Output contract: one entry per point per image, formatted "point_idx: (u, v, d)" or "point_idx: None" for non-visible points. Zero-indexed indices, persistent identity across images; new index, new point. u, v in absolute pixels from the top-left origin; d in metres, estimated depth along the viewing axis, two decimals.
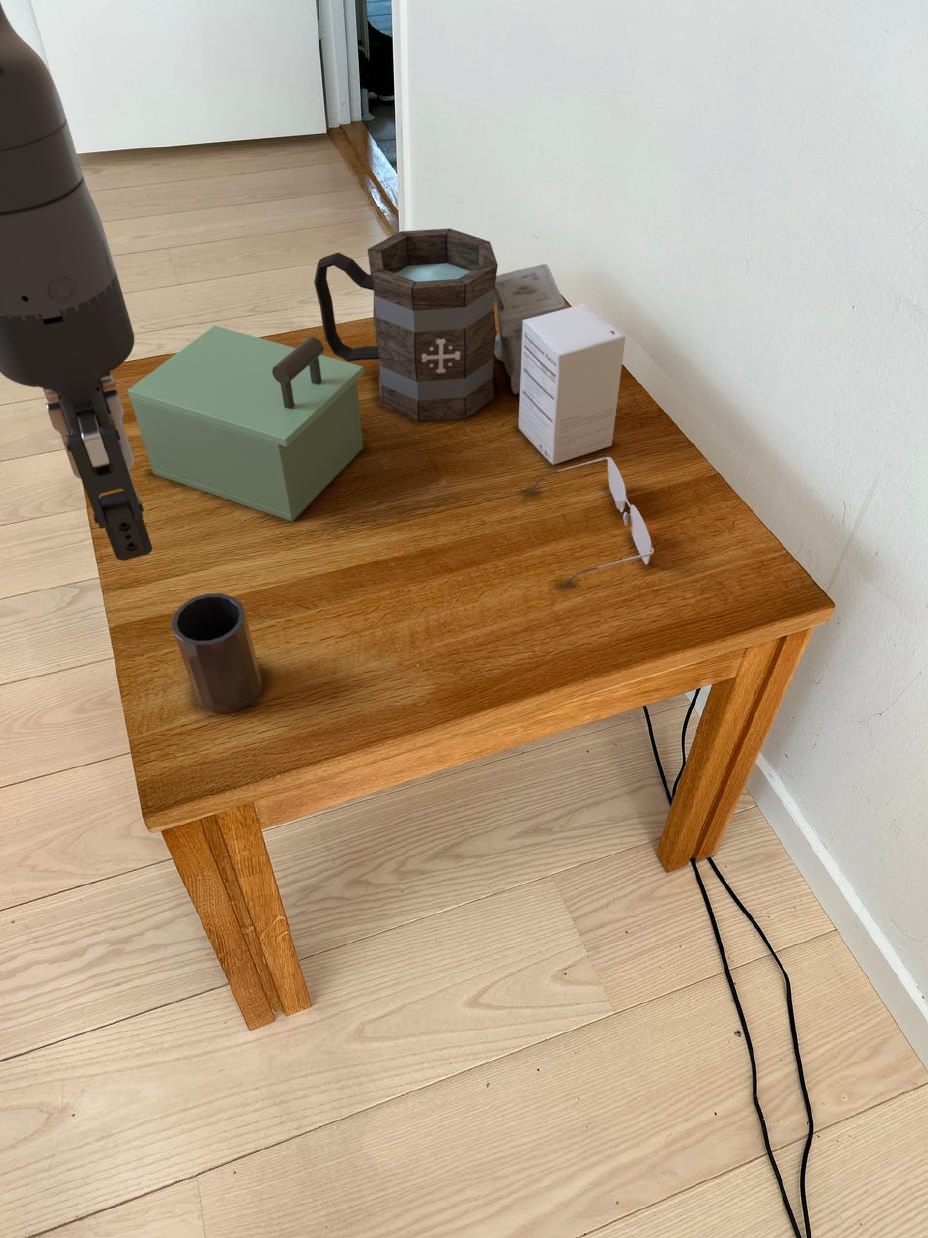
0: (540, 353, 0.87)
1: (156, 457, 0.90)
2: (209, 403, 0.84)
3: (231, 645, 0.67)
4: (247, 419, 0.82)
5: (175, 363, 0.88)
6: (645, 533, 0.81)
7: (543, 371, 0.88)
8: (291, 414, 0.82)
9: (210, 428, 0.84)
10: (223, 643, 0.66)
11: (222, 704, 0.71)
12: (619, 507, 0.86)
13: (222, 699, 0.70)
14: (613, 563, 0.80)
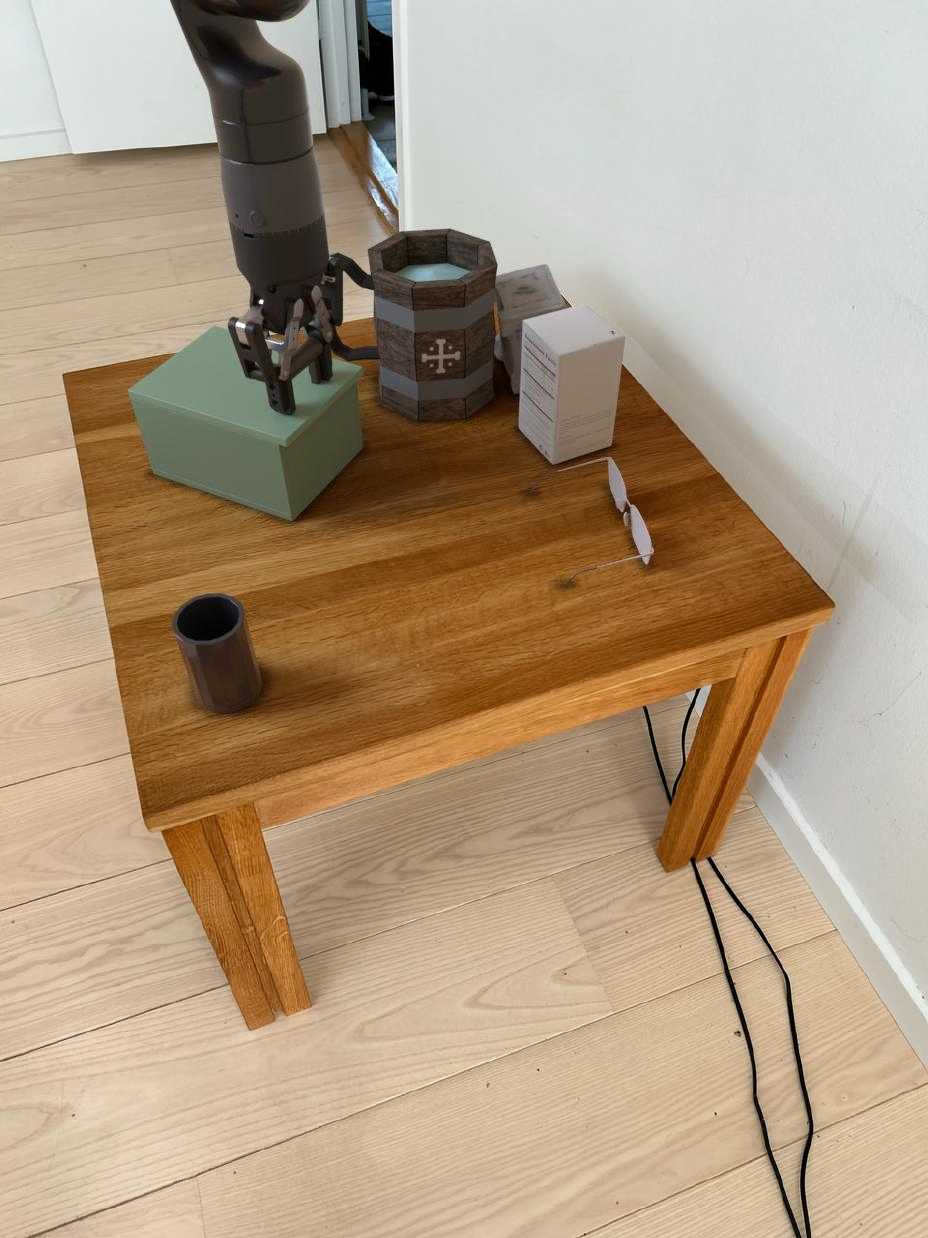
0: (540, 353, 0.87)
1: (156, 457, 0.90)
2: (209, 404, 0.84)
3: (231, 645, 0.67)
4: (247, 419, 0.82)
5: (175, 363, 0.88)
6: (645, 533, 0.81)
7: (543, 371, 0.88)
8: (291, 414, 0.83)
9: (210, 428, 0.84)
10: (223, 643, 0.66)
11: (222, 704, 0.71)
12: (619, 507, 0.86)
13: (222, 699, 0.70)
14: (613, 563, 0.80)
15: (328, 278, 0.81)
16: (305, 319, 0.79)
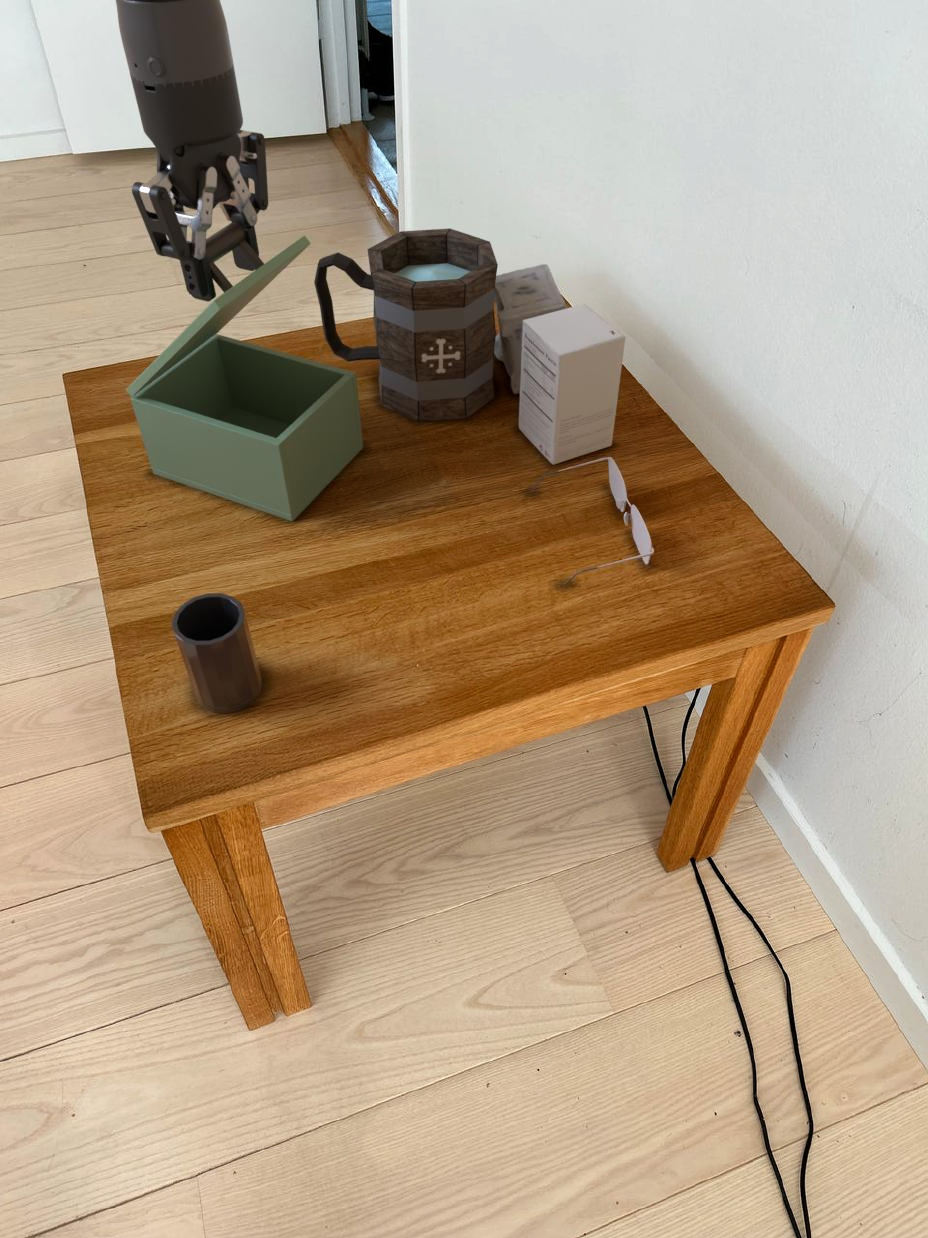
0: (540, 353, 0.87)
1: (156, 457, 0.90)
2: None
3: (231, 645, 0.67)
4: None
5: None
6: (645, 533, 0.81)
7: (543, 371, 0.88)
8: None
9: (210, 428, 0.84)
10: (223, 643, 0.66)
11: (222, 704, 0.71)
12: (620, 507, 0.86)
13: (222, 699, 0.70)
14: (613, 563, 0.80)
15: (248, 154, 0.76)
16: (222, 194, 0.75)
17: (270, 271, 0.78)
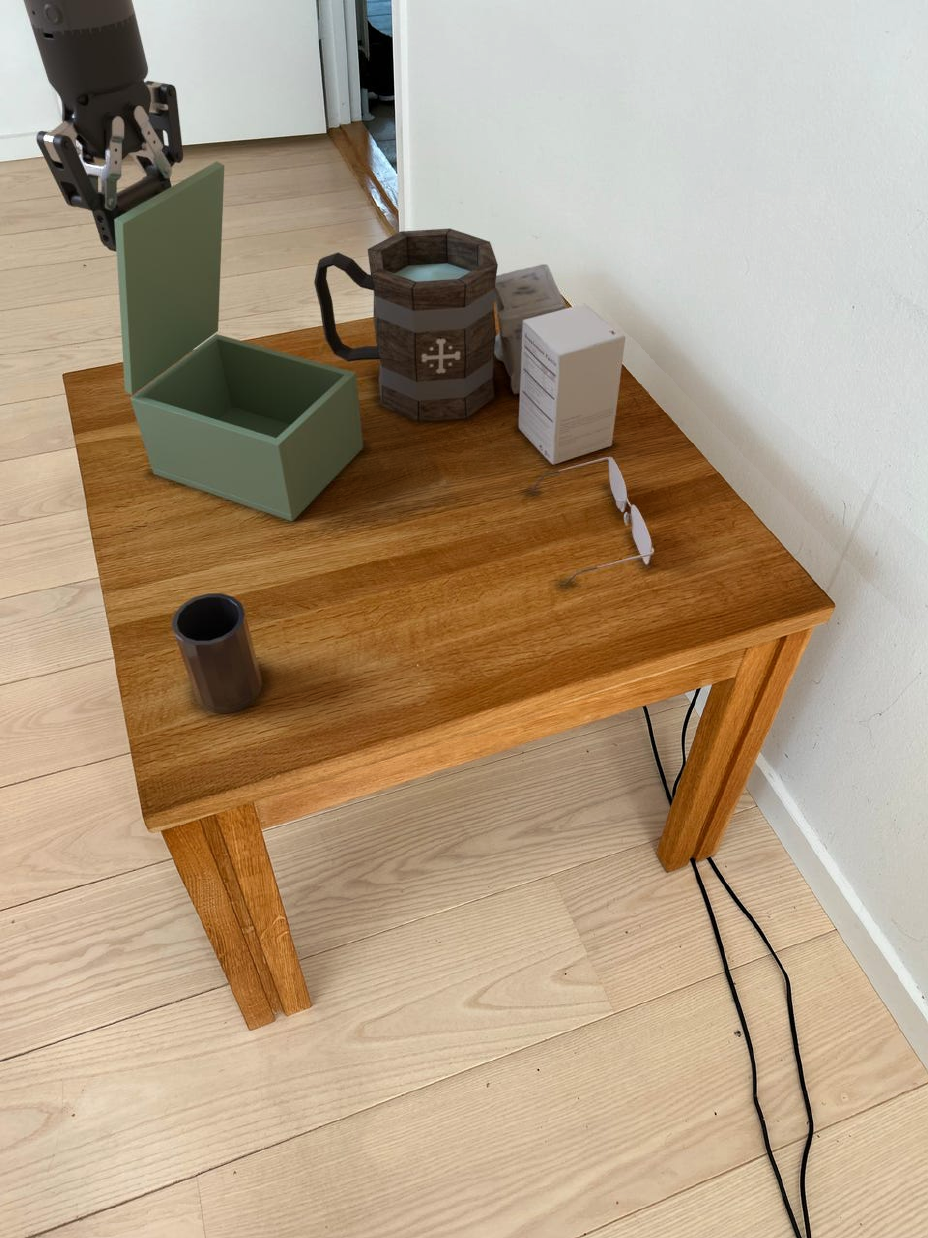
0: (540, 353, 0.87)
1: (156, 457, 0.90)
2: None
3: (231, 645, 0.67)
4: None
5: None
6: (645, 533, 0.81)
7: (543, 371, 0.88)
8: None
9: (210, 428, 0.84)
10: (223, 643, 0.66)
11: (222, 704, 0.71)
12: (620, 507, 0.86)
13: (222, 699, 0.70)
14: (613, 563, 0.80)
15: (159, 105, 0.77)
16: (132, 145, 0.75)
17: (179, 190, 0.76)
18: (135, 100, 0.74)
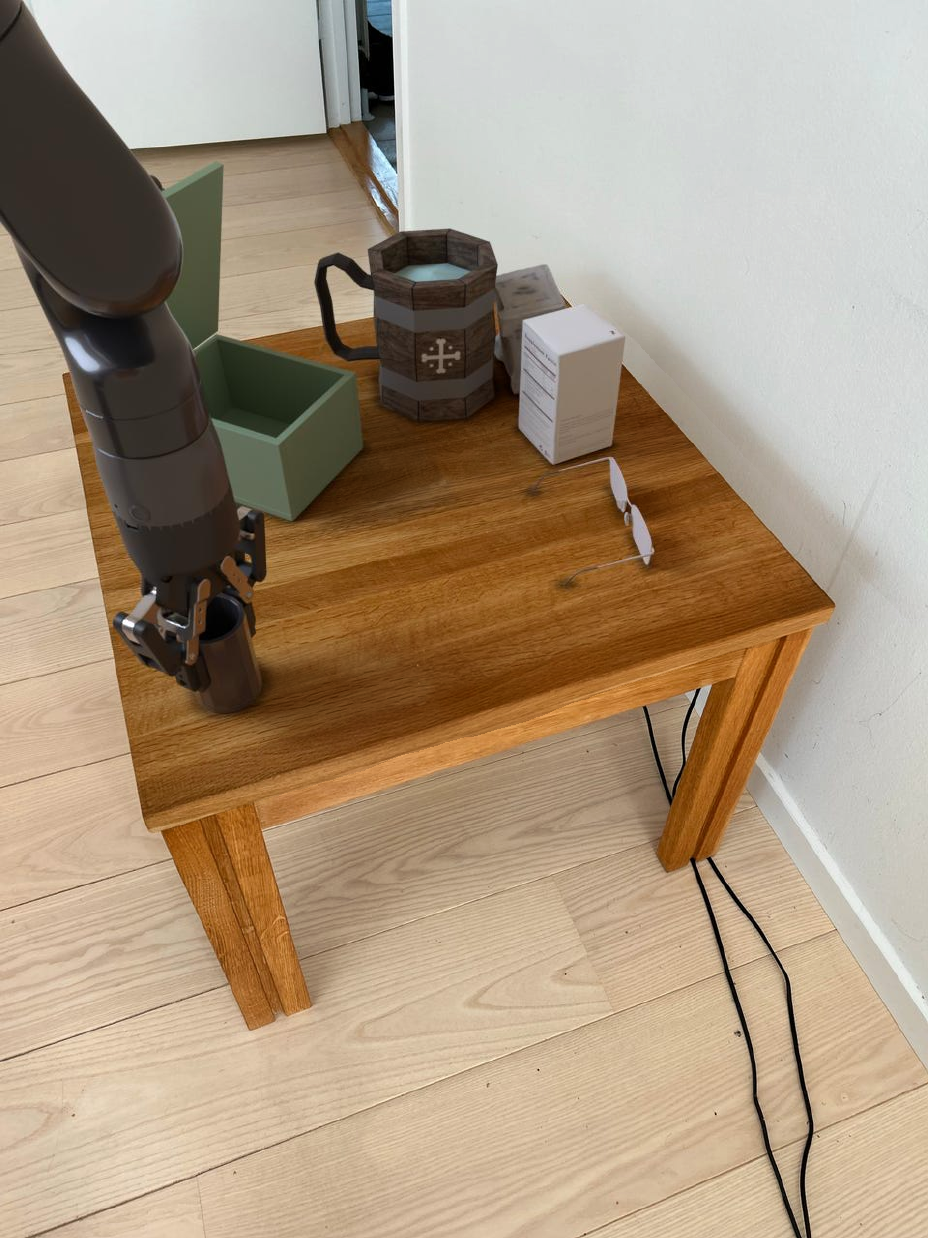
0: (539, 353, 0.87)
1: None
2: None
3: (231, 645, 0.67)
4: None
5: None
6: (646, 533, 0.81)
7: (543, 371, 0.88)
8: None
9: None
10: (223, 643, 0.66)
11: (222, 704, 0.71)
12: (620, 507, 0.86)
13: (222, 699, 0.70)
14: (613, 563, 0.80)
15: (245, 535, 0.67)
16: (216, 591, 0.65)
17: (178, 190, 0.76)
18: None
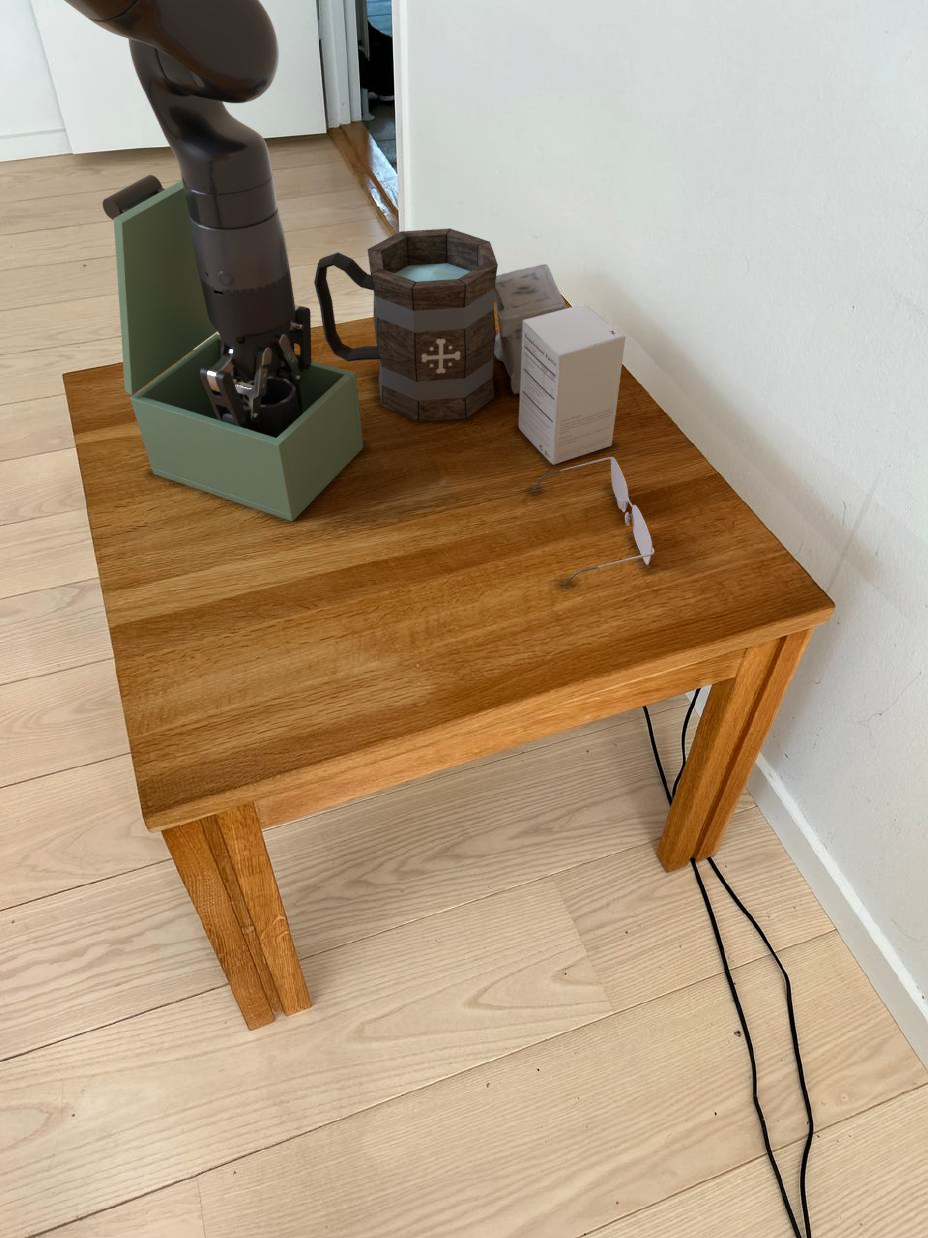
0: (540, 353, 0.87)
1: (156, 457, 0.90)
2: None
3: (285, 411, 0.86)
4: None
5: None
6: (646, 533, 0.81)
7: (543, 371, 0.88)
8: None
9: (210, 428, 0.84)
10: (279, 407, 0.85)
11: None
12: (621, 507, 0.86)
13: None
14: (613, 563, 0.80)
15: (296, 326, 0.86)
16: (274, 365, 0.85)
17: (178, 190, 0.76)
18: (279, 328, 0.83)
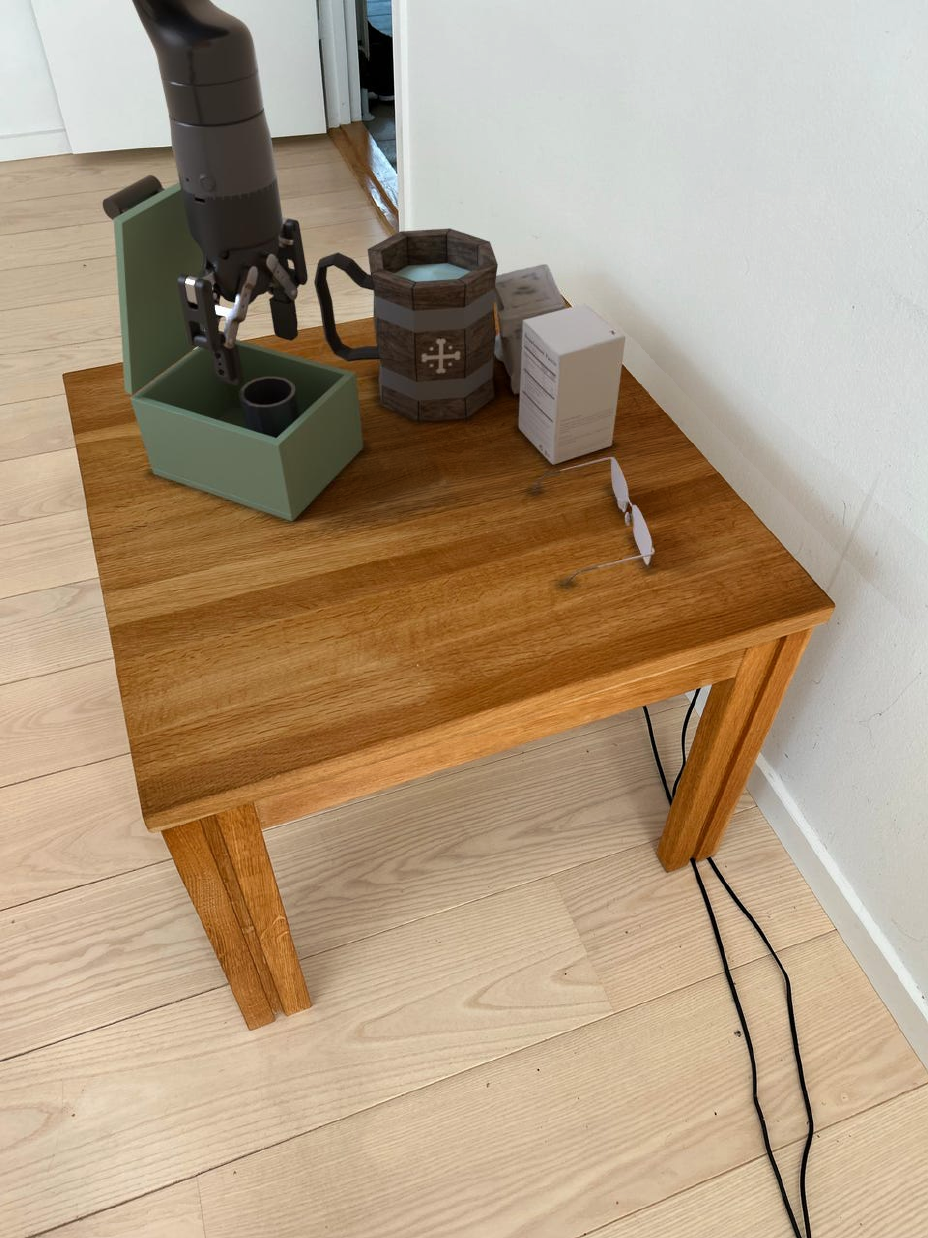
0: (540, 353, 0.87)
1: (156, 457, 0.90)
2: None
3: (285, 411, 0.86)
4: None
5: None
6: (646, 533, 0.81)
7: (543, 371, 0.88)
8: None
9: (210, 428, 0.84)
10: (279, 407, 0.85)
11: None
12: (621, 507, 0.86)
13: None
14: (613, 563, 0.80)
15: (286, 241, 0.81)
16: (261, 288, 0.79)
17: (178, 190, 0.76)
18: (266, 248, 0.78)
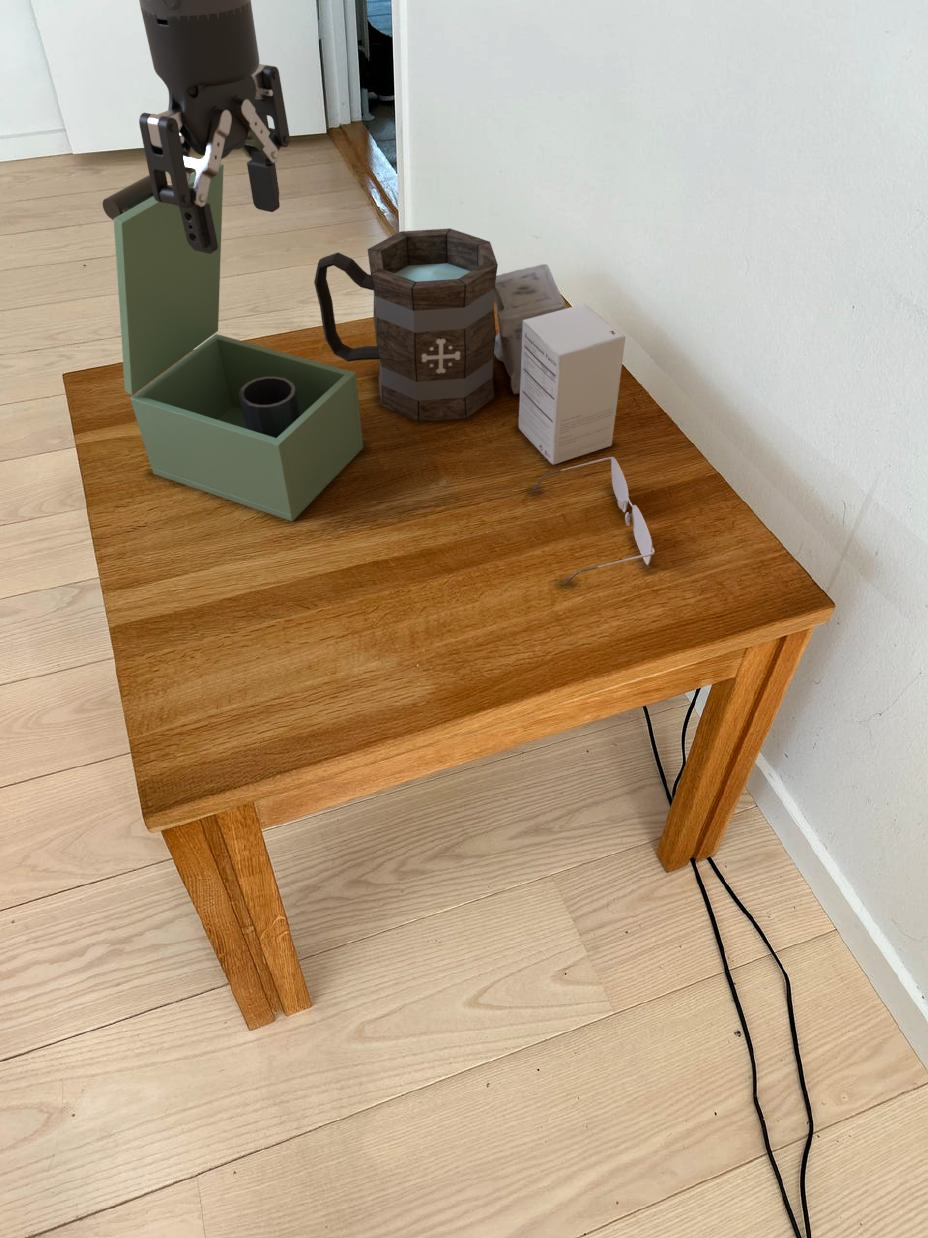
0: (540, 353, 0.87)
1: (156, 457, 0.90)
2: None
3: (285, 411, 0.86)
4: None
5: None
6: (646, 533, 0.81)
7: (543, 371, 0.88)
8: None
9: (210, 428, 0.84)
10: (279, 407, 0.85)
11: None
12: (621, 507, 0.86)
13: None
14: (613, 563, 0.80)
15: (264, 92, 0.72)
16: (236, 141, 0.71)
17: None
18: (242, 93, 0.69)
